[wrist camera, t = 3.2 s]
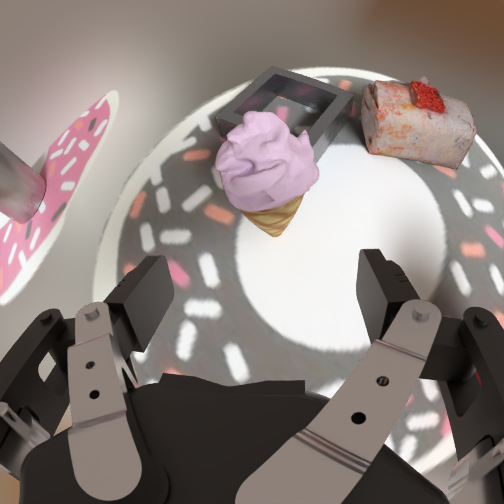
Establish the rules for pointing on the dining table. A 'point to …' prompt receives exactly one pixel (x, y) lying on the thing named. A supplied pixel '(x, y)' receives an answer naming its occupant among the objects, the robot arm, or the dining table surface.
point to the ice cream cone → (266, 170)
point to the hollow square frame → (296, 89)
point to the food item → (416, 123)
